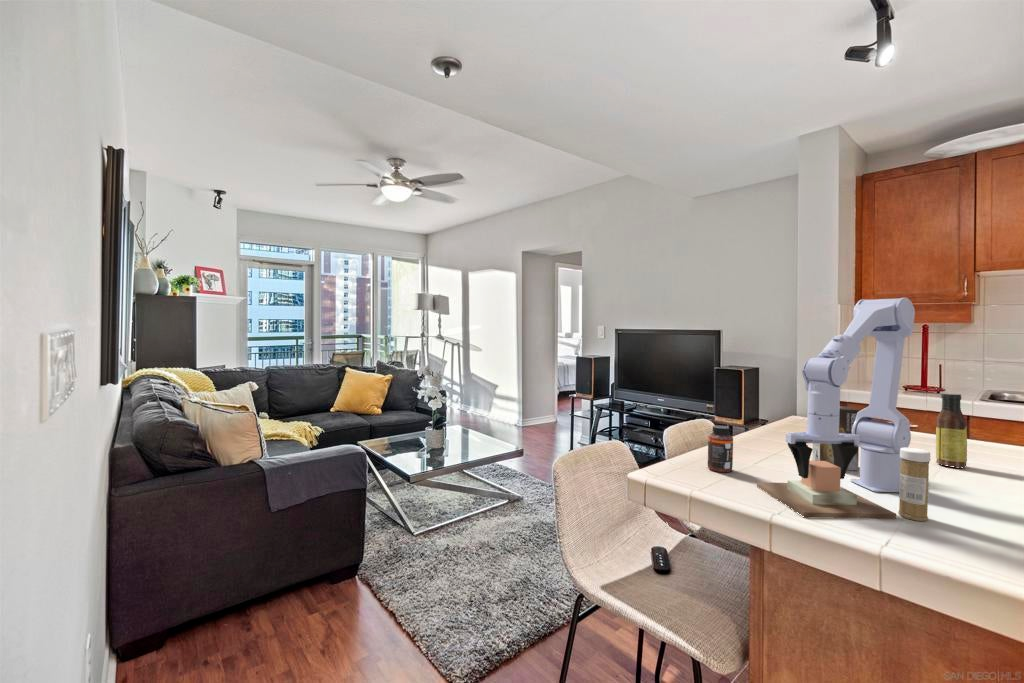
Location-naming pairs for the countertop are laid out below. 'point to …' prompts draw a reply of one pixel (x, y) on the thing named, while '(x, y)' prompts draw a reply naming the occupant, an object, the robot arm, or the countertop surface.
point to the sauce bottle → (951, 432)
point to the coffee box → (845, 426)
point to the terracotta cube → (823, 476)
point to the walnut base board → (826, 509)
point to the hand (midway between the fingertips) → (821, 477)
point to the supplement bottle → (720, 449)
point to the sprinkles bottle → (914, 483)
